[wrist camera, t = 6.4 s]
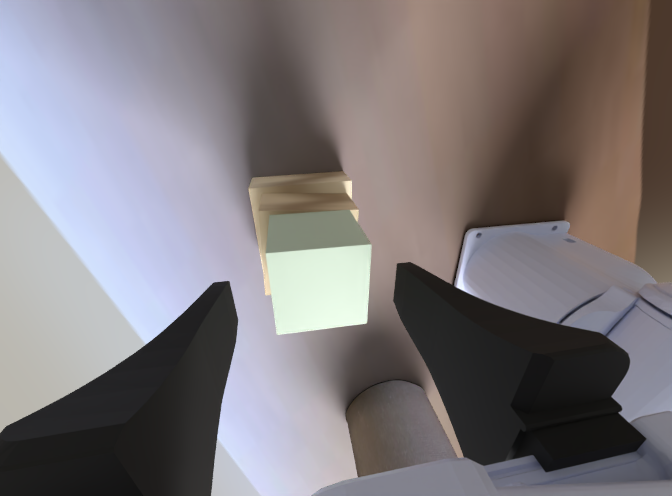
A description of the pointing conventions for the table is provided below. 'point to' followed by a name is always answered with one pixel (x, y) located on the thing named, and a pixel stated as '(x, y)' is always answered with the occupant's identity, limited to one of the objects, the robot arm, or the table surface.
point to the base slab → (295, 189)
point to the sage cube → (317, 270)
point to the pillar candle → (395, 429)
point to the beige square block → (297, 204)
